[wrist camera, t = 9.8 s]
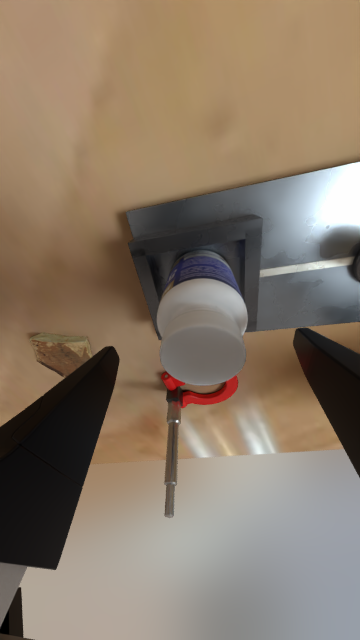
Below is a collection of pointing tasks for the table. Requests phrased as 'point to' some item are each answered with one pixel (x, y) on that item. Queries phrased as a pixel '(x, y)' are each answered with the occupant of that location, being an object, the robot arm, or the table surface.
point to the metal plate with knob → (265, 246)
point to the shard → (61, 352)
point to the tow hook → (175, 403)
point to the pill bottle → (202, 320)
